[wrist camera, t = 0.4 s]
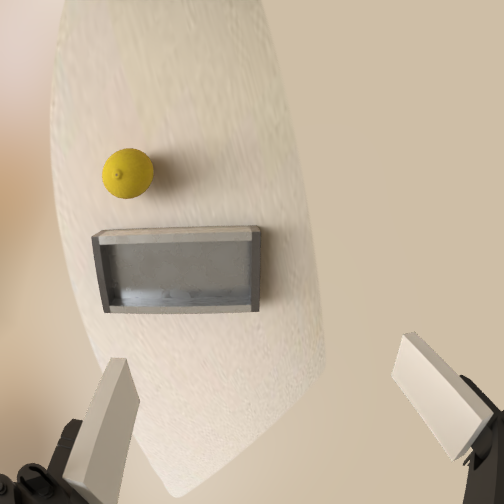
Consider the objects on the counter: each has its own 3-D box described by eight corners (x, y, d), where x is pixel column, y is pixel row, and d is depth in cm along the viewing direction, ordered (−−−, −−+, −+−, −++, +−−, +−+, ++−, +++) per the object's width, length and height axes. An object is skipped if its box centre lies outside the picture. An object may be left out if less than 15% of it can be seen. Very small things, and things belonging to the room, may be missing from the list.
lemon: (134, 203, 34) (111, 214, 26) (109, 169, 32) (82, 171, 24) (168, 176, 33) (154, 179, 26) (143, 140, 32) (122, 134, 24)
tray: (102, 230, 34) (91, 236, 31) (256, 225, 36) (260, 231, 33) (112, 301, 37) (104, 312, 34) (255, 299, 39) (259, 311, 36)
